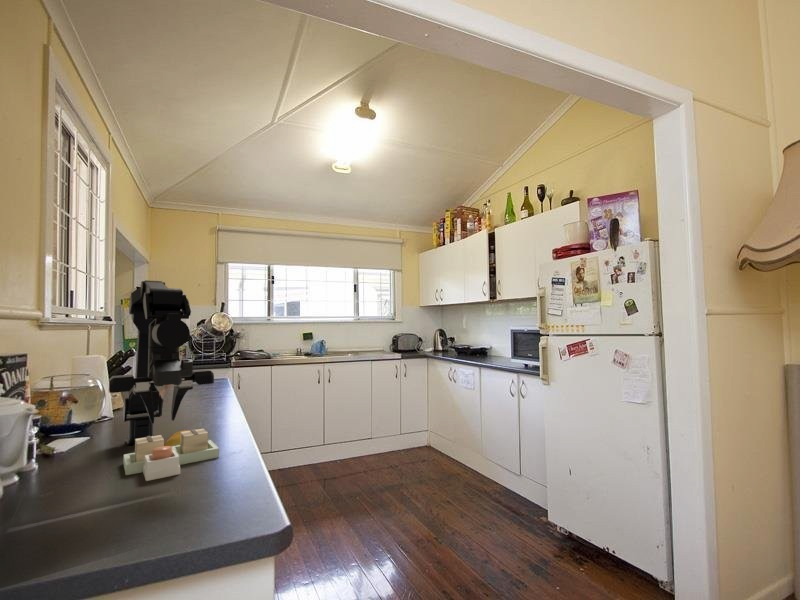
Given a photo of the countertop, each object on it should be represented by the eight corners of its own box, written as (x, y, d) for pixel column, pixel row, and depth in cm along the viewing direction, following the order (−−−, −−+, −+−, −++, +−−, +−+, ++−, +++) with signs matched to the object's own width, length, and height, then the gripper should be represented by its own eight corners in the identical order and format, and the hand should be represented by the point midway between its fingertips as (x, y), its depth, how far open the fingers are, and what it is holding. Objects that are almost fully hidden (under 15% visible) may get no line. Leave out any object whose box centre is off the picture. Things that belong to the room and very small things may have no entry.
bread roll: (160, 454, 99) (160, 438, 100) (170, 444, 108) (170, 429, 108) (197, 451, 101) (197, 435, 102) (204, 441, 110) (204, 426, 110)
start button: (150, 458, 85) (151, 448, 85) (170, 454, 87) (170, 445, 87) (152, 462, 82) (153, 452, 82) (173, 458, 84) (173, 448, 84)
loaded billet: (134, 464, 90) (135, 438, 91) (160, 459, 93) (161, 434, 94) (136, 470, 86) (137, 442, 87) (163, 465, 89) (164, 438, 90)
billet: (180, 455, 96) (180, 431, 96) (203, 451, 99) (203, 427, 99) (183, 461, 92) (184, 435, 92) (207, 456, 95) (208, 431, 95)
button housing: (143, 474, 85) (143, 455, 85) (175, 468, 88) (175, 449, 89) (146, 483, 80) (146, 462, 80) (180, 476, 84) (180, 456, 84)
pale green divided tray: (123, 466, 91) (123, 454, 91) (210, 450, 101) (210, 439, 102) (125, 477, 83) (126, 465, 84) (219, 459, 94) (219, 448, 94)
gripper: (111, 350, 74) (109, 437, 73) (220, 346, 85) (219, 421, 84) (109, 348, 83) (107, 426, 82) (208, 344, 94) (207, 413, 93)
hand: (162, 421), depth 85 cm, fingers open, 3 cm apart
